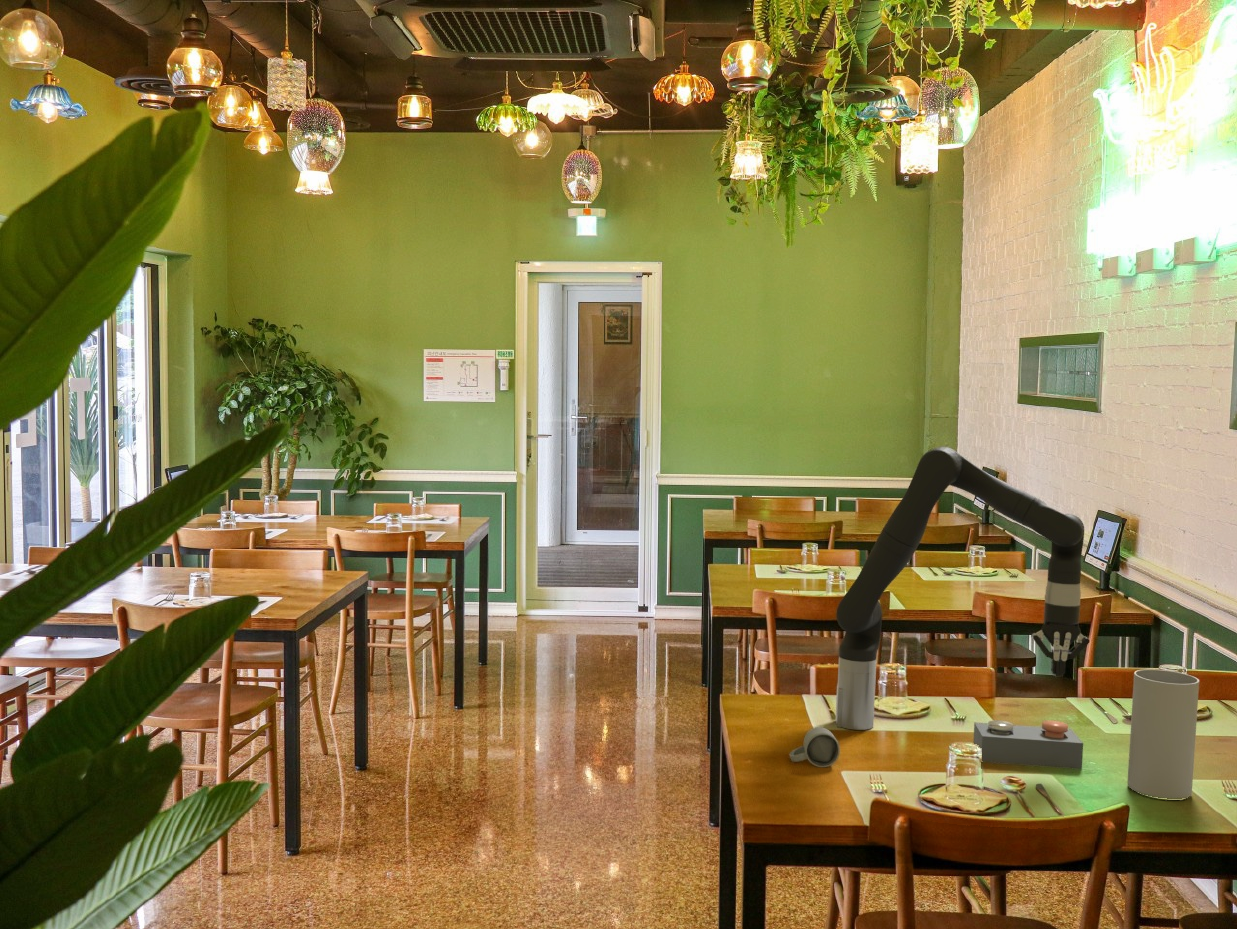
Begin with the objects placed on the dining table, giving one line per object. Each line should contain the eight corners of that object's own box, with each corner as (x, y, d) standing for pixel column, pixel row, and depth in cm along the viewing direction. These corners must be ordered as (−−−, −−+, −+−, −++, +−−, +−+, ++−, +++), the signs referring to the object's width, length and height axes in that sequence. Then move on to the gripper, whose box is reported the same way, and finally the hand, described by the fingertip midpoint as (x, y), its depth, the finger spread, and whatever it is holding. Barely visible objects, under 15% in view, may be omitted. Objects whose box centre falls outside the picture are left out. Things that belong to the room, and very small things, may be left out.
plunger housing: (981, 762, 262) (982, 736, 261) (973, 747, 272) (974, 722, 272) (1081, 769, 259) (1083, 743, 258) (1069, 754, 269) (1071, 728, 269)
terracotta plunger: (1043, 753, 262) (1045, 726, 262) (1038, 745, 268) (1039, 719, 267) (1069, 755, 261) (1070, 728, 261) (1063, 747, 267) (1064, 721, 266)
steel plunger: (989, 752, 264) (990, 726, 263) (984, 745, 269) (986, 719, 269) (1014, 754, 263) (1015, 728, 263) (1009, 747, 269) (1011, 721, 268)
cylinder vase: (1114, 785, 249) (1121, 671, 247) (1156, 778, 254) (1163, 667, 252) (1161, 805, 237) (1169, 686, 235) (1205, 798, 242) (1212, 681, 240)
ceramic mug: (834, 756, 263) (834, 723, 262) (839, 768, 254) (840, 734, 254) (787, 755, 263) (788, 722, 262) (791, 767, 255) (792, 733, 254)
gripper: (1035, 602, 259) (1031, 678, 261) (1097, 606, 257) (1092, 682, 259) (1028, 596, 267) (1024, 670, 268) (1088, 600, 265) (1083, 674, 266)
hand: (1057, 675), depth 263 cm, fingers closed
